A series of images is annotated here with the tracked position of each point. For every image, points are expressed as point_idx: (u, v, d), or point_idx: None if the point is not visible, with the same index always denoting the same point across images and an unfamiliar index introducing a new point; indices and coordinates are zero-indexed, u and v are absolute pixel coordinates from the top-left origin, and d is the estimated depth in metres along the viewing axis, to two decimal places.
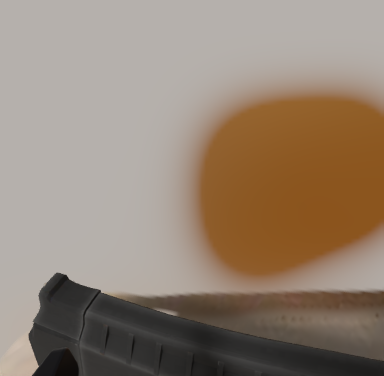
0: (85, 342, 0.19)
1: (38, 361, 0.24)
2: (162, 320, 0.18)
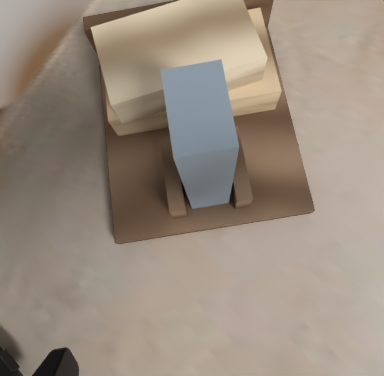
0: None
1: None
2: None
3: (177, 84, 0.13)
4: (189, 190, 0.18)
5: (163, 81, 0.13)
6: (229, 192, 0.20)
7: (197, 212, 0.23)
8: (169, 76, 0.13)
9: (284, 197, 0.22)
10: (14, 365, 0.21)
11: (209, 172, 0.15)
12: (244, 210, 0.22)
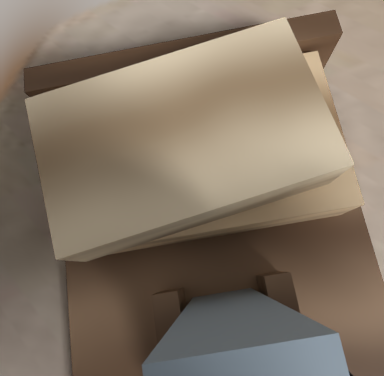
0: None
1: None
2: None
3: None
4: None
5: None
6: None
7: None
8: None
9: None
10: None
11: None
12: None
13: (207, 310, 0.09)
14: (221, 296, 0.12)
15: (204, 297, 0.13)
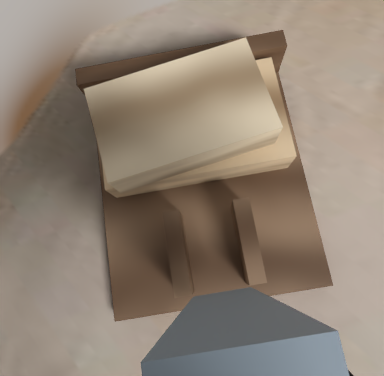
0: None
1: None
2: None
3: None
4: None
5: None
6: None
7: (204, 286, 0.21)
8: None
9: (299, 269, 0.21)
10: None
11: None
12: (256, 284, 0.20)
13: (207, 309, 0.09)
14: (221, 295, 0.12)
15: (204, 296, 0.13)
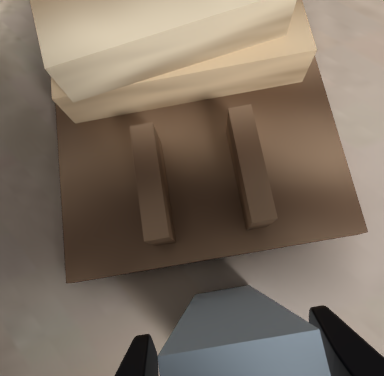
0: None
1: None
2: None
3: None
4: None
5: None
6: None
7: (190, 235, 0.15)
8: None
9: (320, 211, 0.15)
10: None
11: None
12: (260, 232, 0.15)
13: (209, 308, 0.10)
14: (221, 293, 0.13)
15: (206, 294, 0.14)
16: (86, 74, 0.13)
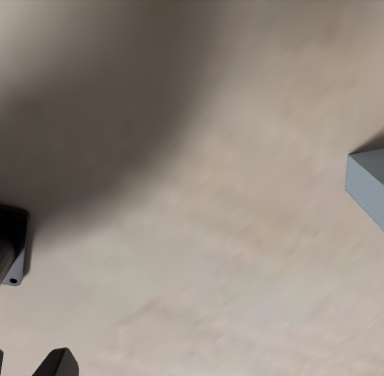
0: None
1: None
2: None
3: None
4: None
5: None
6: (371, 216, 0.19)
7: None
8: None
9: None
10: None
11: None
12: None
13: None
14: None
15: None
16: None
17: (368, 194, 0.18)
